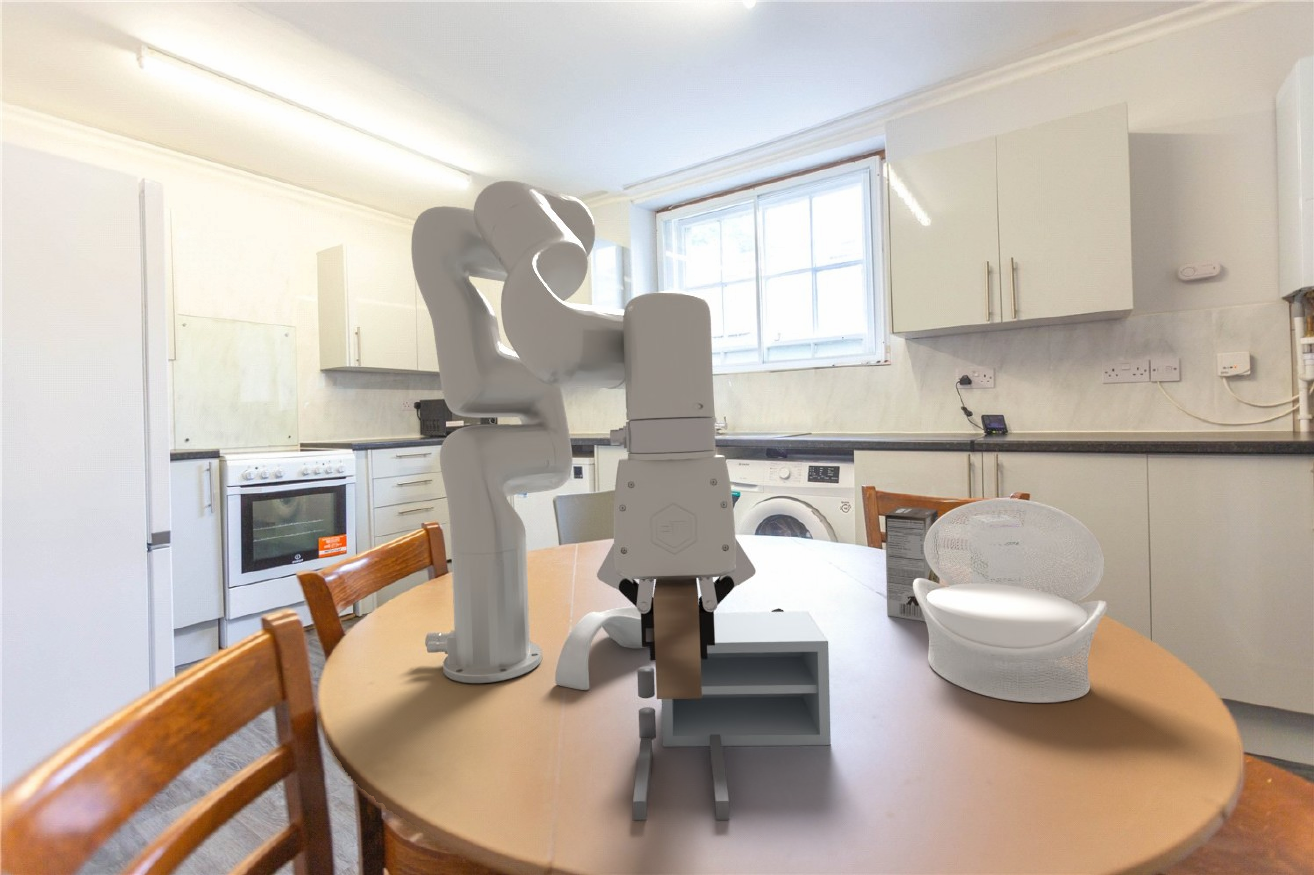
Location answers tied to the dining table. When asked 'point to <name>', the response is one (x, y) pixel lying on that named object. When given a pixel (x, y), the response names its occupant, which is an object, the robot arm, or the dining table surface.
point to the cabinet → (744, 696)
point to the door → (676, 639)
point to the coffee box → (907, 559)
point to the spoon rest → (575, 651)
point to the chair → (1012, 602)
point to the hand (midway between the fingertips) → (678, 651)
